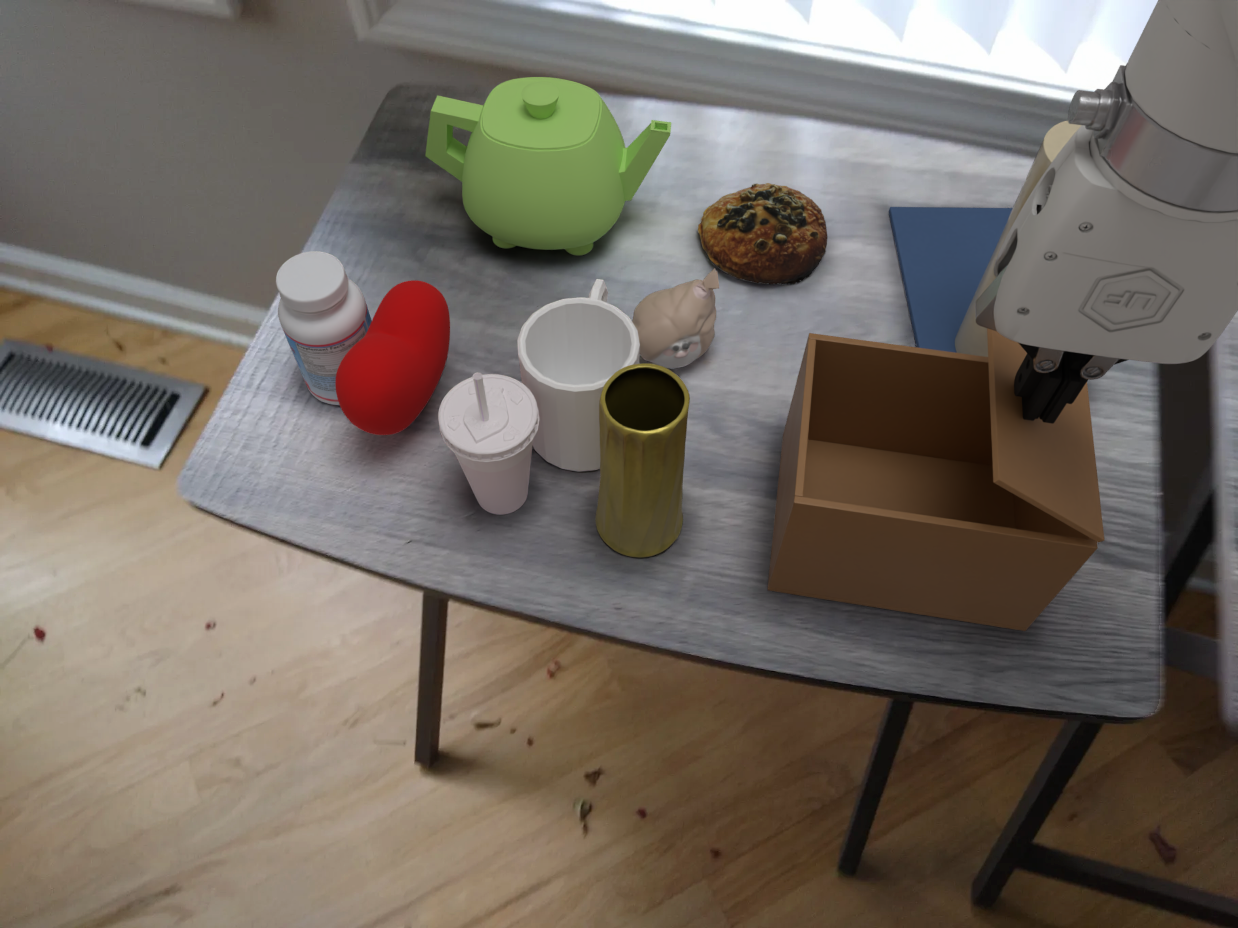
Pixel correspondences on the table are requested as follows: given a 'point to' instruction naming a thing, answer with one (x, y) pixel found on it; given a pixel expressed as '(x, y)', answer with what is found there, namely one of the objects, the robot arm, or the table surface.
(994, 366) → the flap
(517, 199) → the teapot
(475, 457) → the smoothie
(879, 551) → the carton
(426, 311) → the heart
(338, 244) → the table surface
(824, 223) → the bread roll
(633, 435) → the vase
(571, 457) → the mug
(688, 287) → the garlic bulb
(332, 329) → the pill bottle
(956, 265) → the mat
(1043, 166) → the beige cylinder rod
